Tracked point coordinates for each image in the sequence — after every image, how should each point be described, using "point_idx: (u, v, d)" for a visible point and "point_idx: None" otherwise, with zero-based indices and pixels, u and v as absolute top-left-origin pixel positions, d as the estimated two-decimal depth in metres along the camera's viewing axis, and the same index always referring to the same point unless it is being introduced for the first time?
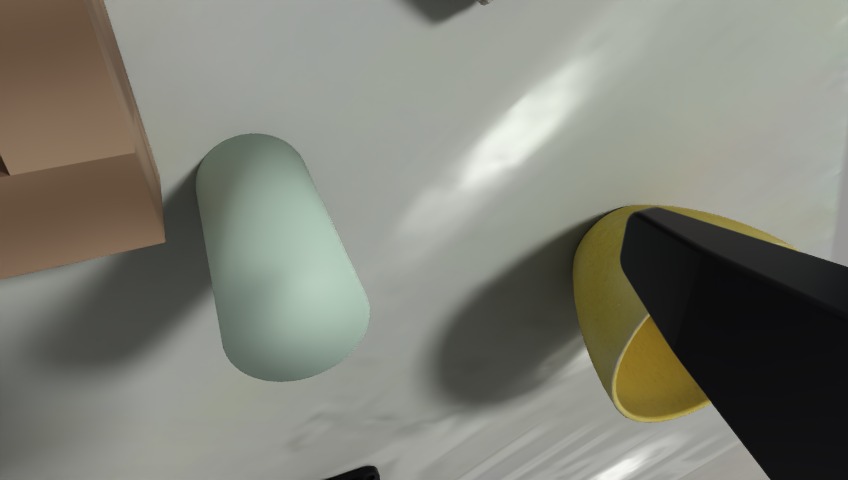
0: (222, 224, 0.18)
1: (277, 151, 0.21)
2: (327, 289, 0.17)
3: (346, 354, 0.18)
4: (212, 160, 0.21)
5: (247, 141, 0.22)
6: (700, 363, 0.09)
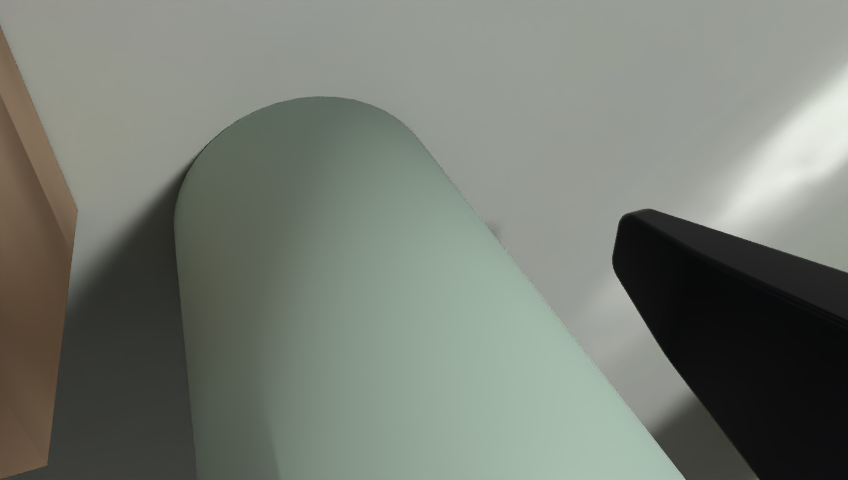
0: (255, 411, 0.05)
1: (395, 142, 0.08)
2: None
3: None
4: (217, 166, 0.08)
5: (312, 115, 0.08)
6: (692, 366, 0.09)
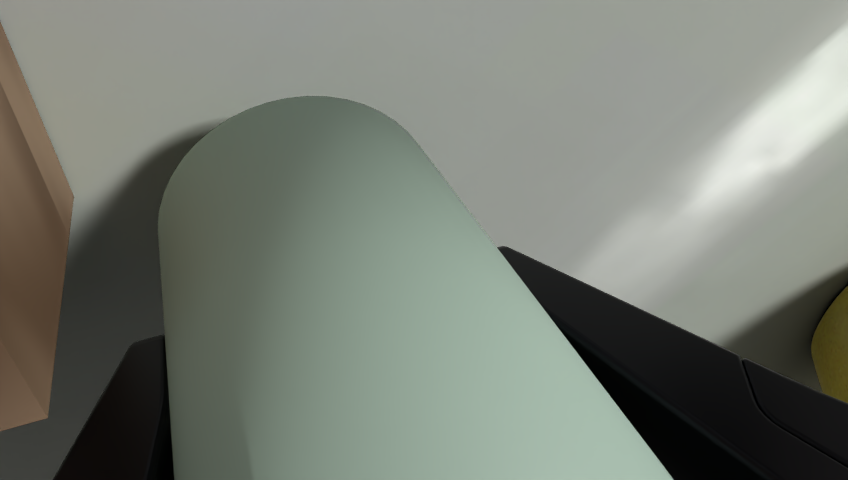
0: (236, 441, 0.05)
1: (389, 145, 0.07)
2: None
3: None
4: (201, 168, 0.07)
5: (302, 115, 0.08)
6: None
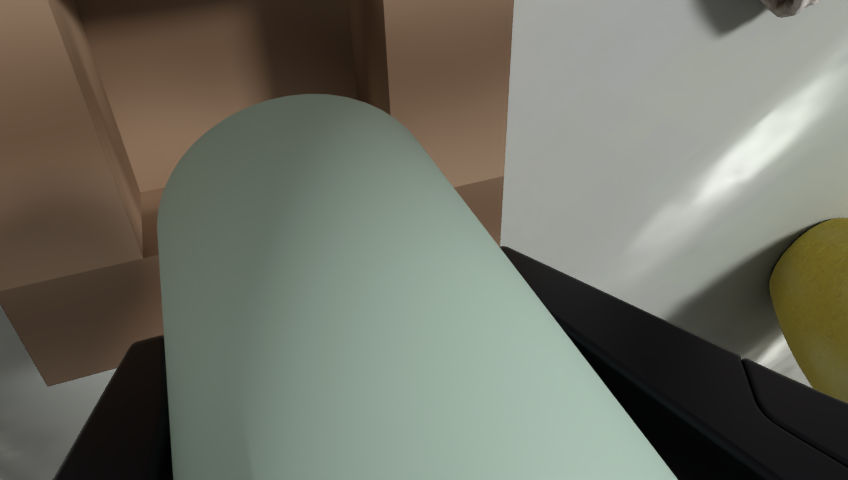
0: (235, 442, 0.04)
1: (390, 143, 0.07)
2: None
3: None
4: (201, 167, 0.07)
5: (302, 113, 0.08)
6: None
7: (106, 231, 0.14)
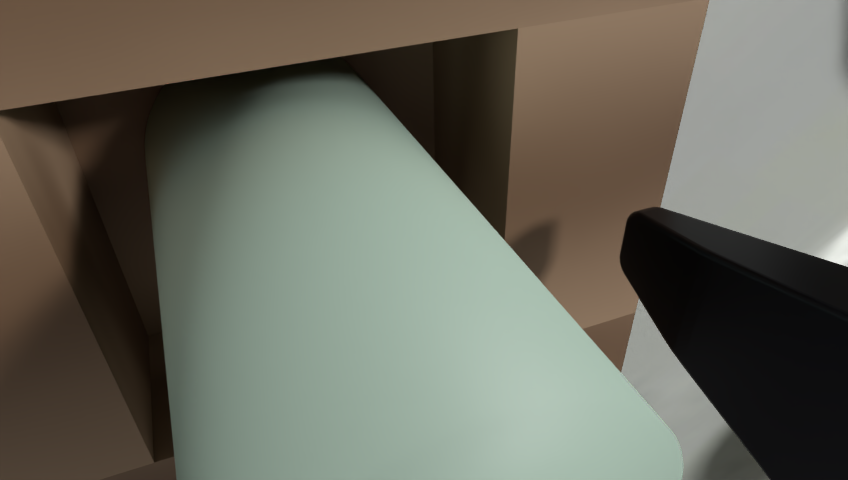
0: (202, 234, 0.06)
1: (331, 66, 0.09)
2: (584, 471, 0.05)
3: None
4: (179, 86, 0.09)
5: None
6: (700, 363, 0.09)
7: (101, 438, 0.09)
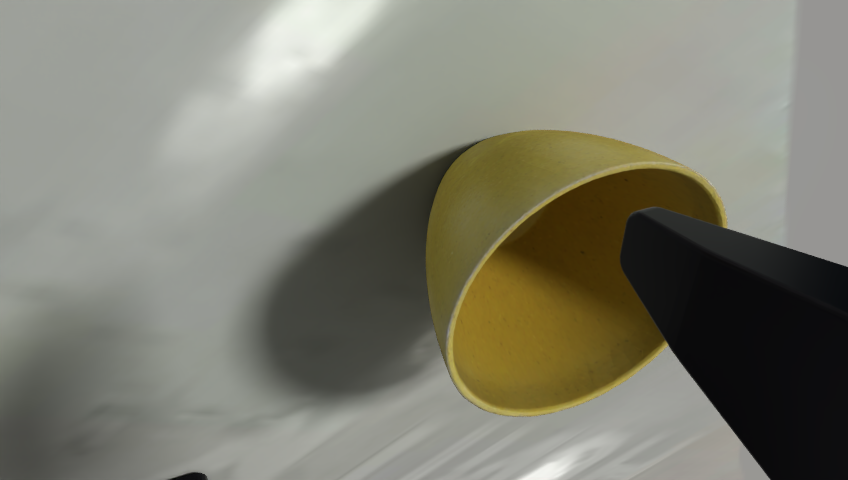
0: None
1: None
2: None
3: None
4: None
5: None
6: (700, 363, 0.09)
7: None
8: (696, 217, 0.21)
